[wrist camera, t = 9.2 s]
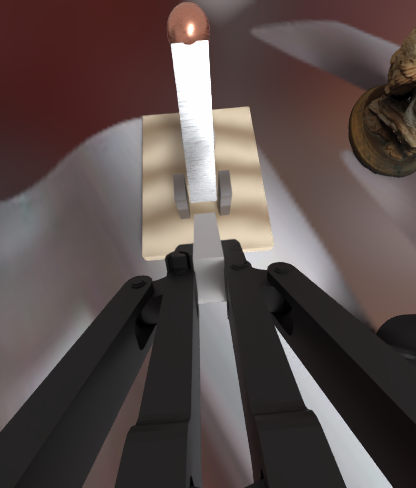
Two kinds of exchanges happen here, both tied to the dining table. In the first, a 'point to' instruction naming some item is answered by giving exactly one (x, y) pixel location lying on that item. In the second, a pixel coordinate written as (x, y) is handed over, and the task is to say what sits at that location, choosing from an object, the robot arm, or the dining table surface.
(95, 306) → the dining table surface
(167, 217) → the tan bracket base plate
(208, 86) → the lever
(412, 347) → the mug
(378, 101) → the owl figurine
